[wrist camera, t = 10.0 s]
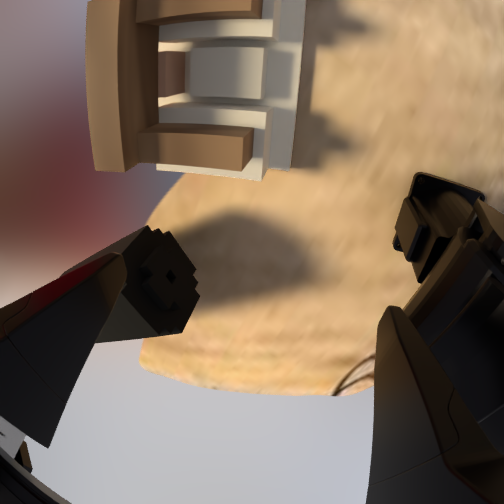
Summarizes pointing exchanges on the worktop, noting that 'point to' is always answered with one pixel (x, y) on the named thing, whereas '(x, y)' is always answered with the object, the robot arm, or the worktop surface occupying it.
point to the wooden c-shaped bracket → (151, 88)
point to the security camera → (149, 287)
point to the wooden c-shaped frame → (236, 81)
